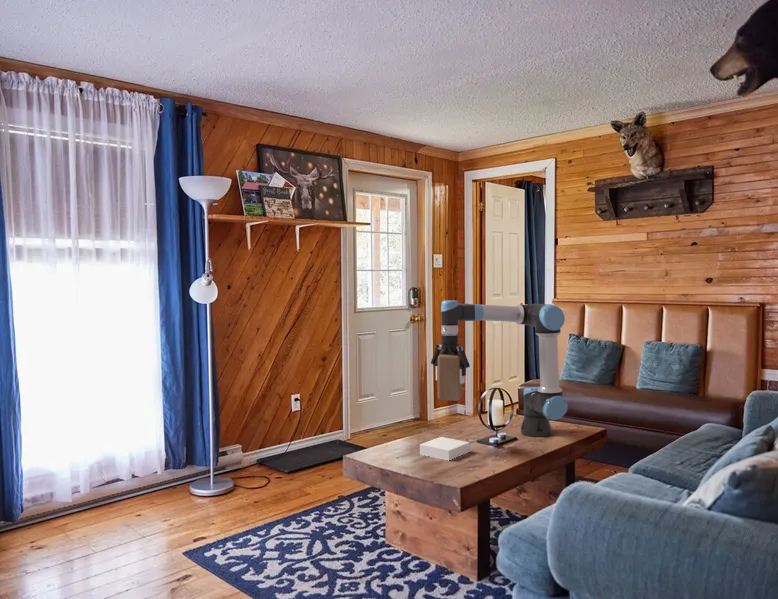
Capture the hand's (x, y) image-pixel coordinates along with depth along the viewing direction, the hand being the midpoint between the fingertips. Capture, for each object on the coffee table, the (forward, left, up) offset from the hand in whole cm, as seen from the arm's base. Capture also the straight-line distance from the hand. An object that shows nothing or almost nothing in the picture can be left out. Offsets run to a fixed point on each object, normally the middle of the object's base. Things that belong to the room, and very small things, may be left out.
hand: (449, 381), depth 277 cm
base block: (0, +5, -32) cm, 32 cm away
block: (0, 0, -8) cm, 8 cm away
